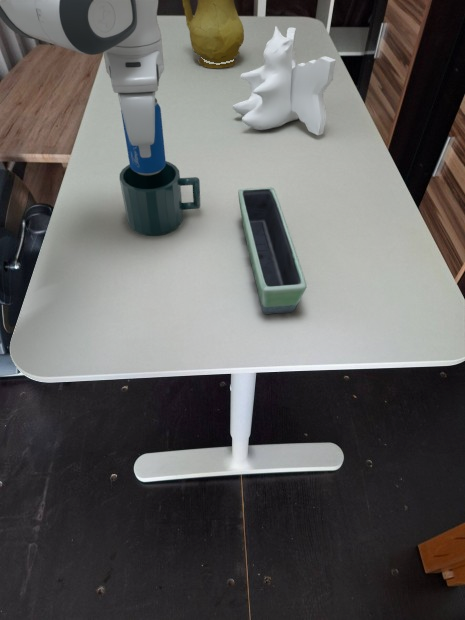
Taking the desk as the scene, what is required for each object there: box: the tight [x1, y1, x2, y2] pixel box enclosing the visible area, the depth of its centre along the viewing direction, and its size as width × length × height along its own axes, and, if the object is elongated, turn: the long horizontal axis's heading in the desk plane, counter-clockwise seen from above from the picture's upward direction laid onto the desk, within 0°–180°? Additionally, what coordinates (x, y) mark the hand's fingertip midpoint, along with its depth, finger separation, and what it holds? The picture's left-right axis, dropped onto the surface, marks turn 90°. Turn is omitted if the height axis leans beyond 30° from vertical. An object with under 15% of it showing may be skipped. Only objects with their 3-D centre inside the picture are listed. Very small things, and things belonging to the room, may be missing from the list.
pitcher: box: [181, 0, 245, 69], centre depth 139 cm, size 17×19×25 cm
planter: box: [237, 186, 307, 315], centre depth 79 cm, size 28×7×7 cm, turn 7°
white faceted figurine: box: [232, 25, 337, 136], centre depth 112 cm, size 25×21×21 cm
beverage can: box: [120, 97, 167, 175], centre depth 77 cm, size 6×6×12 cm
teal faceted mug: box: [119, 160, 201, 237], centre depth 87 cm, size 15×11×10 cm
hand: (145, 144), depth 78 cm, fingers closed on beverage can, 6 cm apart
